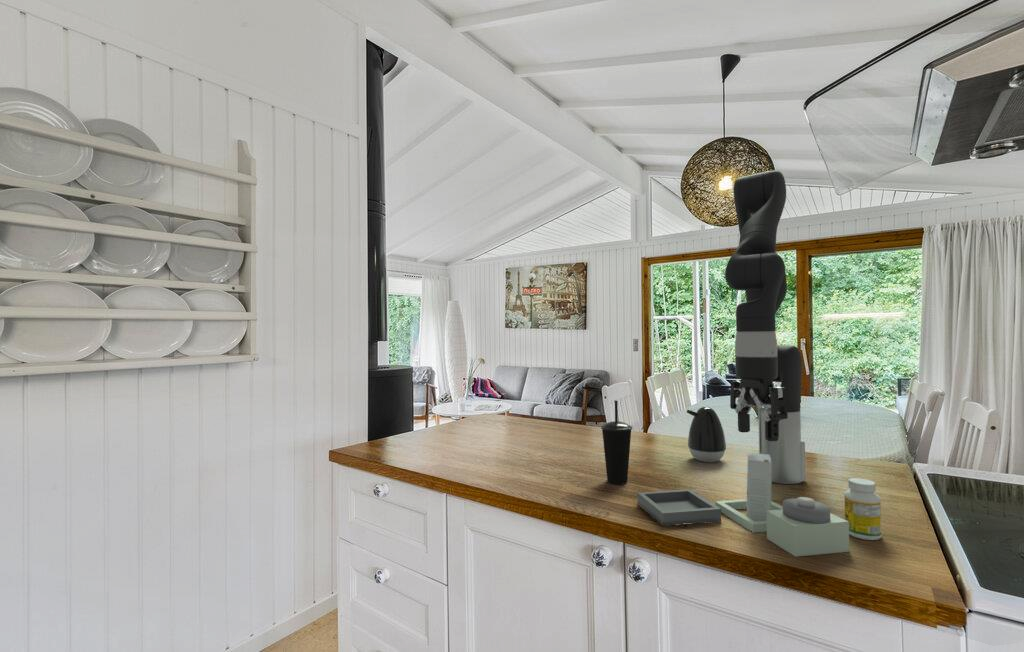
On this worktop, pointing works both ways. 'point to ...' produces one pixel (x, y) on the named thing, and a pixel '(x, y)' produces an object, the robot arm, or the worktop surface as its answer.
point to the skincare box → (758, 486)
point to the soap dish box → (796, 525)
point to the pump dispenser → (706, 435)
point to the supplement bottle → (863, 509)
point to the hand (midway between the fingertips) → (757, 436)
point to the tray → (678, 507)
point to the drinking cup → (616, 449)
